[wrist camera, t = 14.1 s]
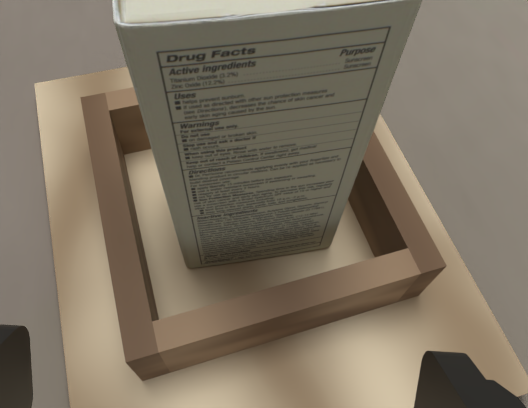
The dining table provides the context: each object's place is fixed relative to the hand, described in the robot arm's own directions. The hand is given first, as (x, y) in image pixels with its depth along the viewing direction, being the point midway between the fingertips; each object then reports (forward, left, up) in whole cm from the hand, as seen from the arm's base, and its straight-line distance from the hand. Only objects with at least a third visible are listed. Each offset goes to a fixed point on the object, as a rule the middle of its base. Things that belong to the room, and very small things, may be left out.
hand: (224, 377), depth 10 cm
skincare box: (-3, -7, -8) cm, 11 cm away
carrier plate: (-3, -8, -9) cm, 12 cm away
